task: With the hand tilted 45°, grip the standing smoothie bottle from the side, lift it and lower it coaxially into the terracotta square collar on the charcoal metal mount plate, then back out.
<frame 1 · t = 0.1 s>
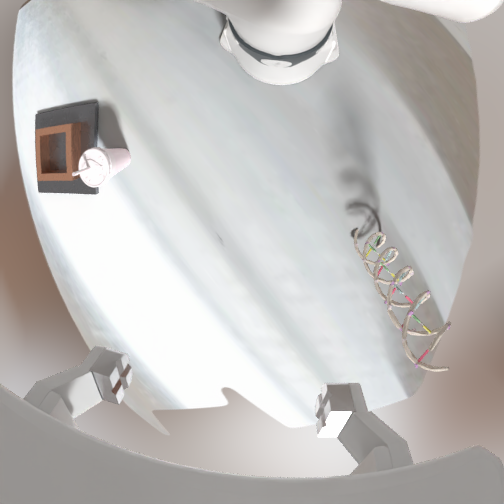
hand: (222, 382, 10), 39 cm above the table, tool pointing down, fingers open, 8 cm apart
mount: (64, 150, 44), on the table
smoothie: (123, 157, 45), on the table
dna model: (367, 238, 48), on the table
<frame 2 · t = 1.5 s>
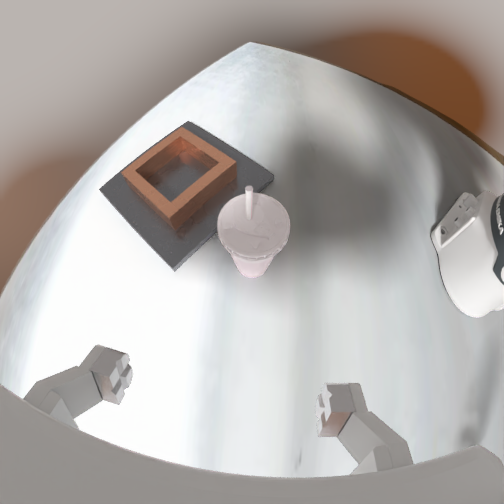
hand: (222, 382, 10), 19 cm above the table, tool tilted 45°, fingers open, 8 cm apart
mount: (181, 184, 37), on the table
smoothie: (252, 263, 33), on the table
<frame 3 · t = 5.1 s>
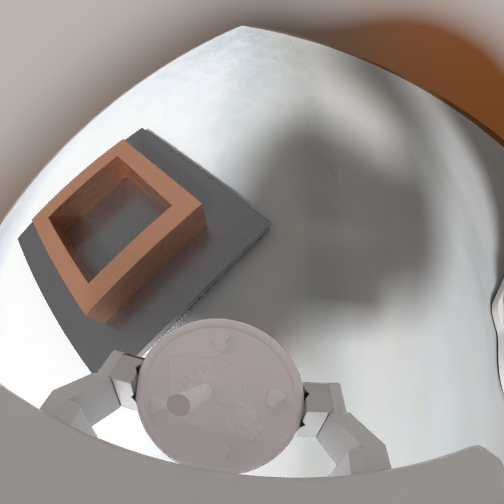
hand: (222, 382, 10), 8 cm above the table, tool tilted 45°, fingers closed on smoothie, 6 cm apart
mount: (120, 235, 22), on the table
smoothie: (230, 385, 18), on the table, touching gripper
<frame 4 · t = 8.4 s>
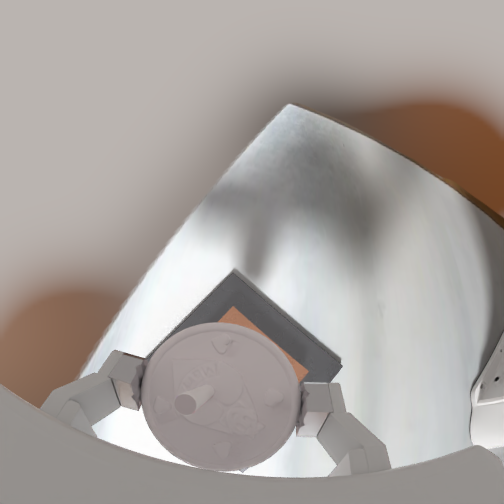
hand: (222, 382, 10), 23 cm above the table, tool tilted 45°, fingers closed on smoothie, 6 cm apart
mount: (237, 375, 31), on the table
smoothie: (229, 386, 18), point 13 cm above the table, touching gripper
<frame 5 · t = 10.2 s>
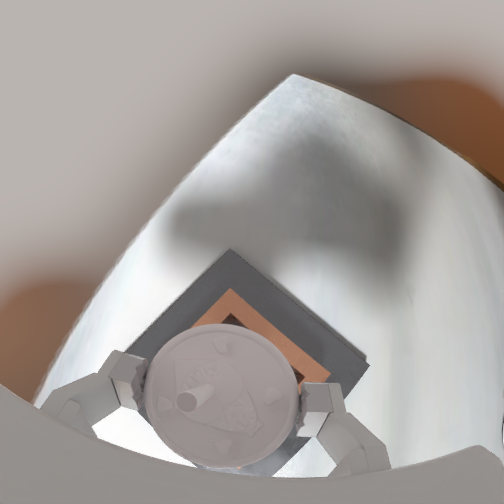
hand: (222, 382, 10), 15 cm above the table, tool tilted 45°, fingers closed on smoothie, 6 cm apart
mount: (235, 379, 24), on the table
smoothie: (231, 385, 19), point 5 cm above the table, touching gripper
when the fingers open (10 cm above the table, at t = 11.9 s): smoothie stays where it is, resting on mount.
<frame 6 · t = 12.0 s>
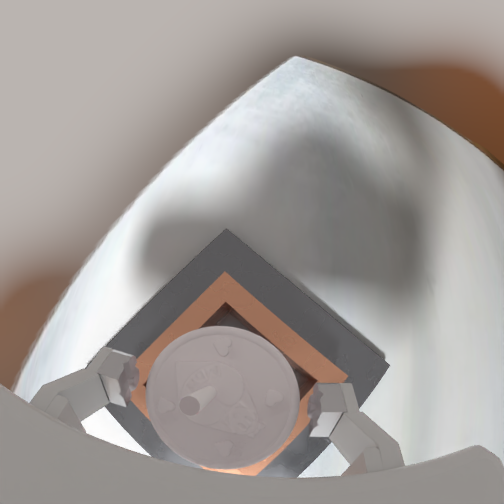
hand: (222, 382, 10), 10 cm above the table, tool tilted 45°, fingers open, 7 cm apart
mount: (231, 384, 20), on the table
smoothie: (231, 386, 19), point 1 cm above the table, touching mount
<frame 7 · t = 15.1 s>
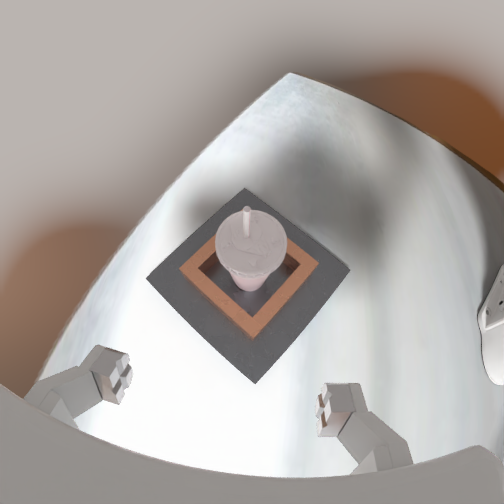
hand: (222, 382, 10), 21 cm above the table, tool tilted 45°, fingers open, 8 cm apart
mount: (249, 277, 34), on the table
smoothie: (249, 276, 33), point 1 cm above the table, touching mount
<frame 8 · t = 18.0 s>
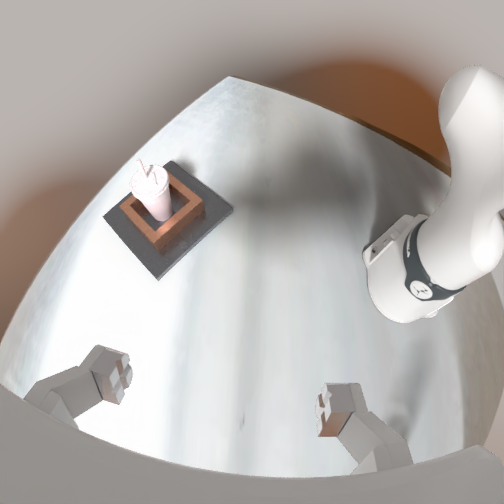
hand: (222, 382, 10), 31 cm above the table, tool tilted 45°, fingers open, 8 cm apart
mount: (164, 214, 50), on the table
smoothie: (163, 213, 49), point 1 cm above the table, touching mount
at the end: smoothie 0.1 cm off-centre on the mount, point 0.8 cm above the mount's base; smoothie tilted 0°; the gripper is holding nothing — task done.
